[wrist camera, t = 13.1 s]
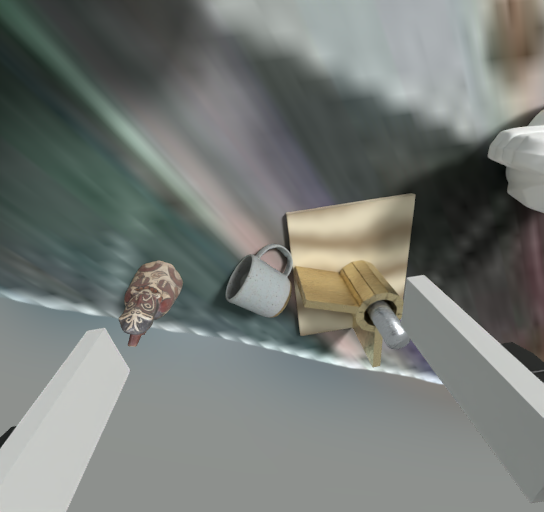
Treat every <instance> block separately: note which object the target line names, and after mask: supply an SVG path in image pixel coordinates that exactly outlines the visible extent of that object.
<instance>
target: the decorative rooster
mask: <svg viewBox="0 0 544 512" xmlns="http://www.w3.org/2000/svg"><path fill="white" fill-rule="evenodd" d="M488 158H489V159H491V160H493V161H495V162H498V163H500V164H502V165H505V166H507V167H506V178H507V181H508V188H507V193H508V194H509V195H511V196H512V197H513V198H515V199H516V200H518V201H519V202H520V203H522V204H523V205H525V206H526V207H528V208H530V209H533V210H536V211H539V212H542V213H544V109H543V110H542V111H541V112H540V113H538V114H537V115H536V116H535V117H534V119H533V120H532V121H531V122H530V124H529V125H528V126H527V127H518V128H512V129H509V130H504V131H501V132H500V133H499V134H498V135H497V136H496V138H495V139H494V141H493V142H492V143H491V144H490V147H489V151H488Z"/></svg>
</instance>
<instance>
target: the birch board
mask: <svg viewBox="0 0 544 512" xmlns="http://www.w3.org/2000/svg"><path fill="white" fill-rule="evenodd" d="M415 196H416V195H415V194H413V193H409V194H403V195H396V196H390V197H384V198H377V199H371V200H365V201H358V202H352V203H346V204H339V205H333V206H326V207H320V208H314V209H307V210H301V211H295V212H288V213H286V217H287V226H288V234H289V243H290V252H291V256H292V259H293V266H292V269H293V278H294V287H295V295H296V304H297V313H298V321H299V330H300V335H301V336H304V335H310V334H316V333H323V332H329V331H335V330H341V329H347V328H353V315H352V313H346V312H338V311H330V310H322V309H314V308H306V307H304V305H303V302H302V298H301V295H300V292H299V288H298V285H297V281H296V278H295V275H294V270H295V266H300V267H306V268H313V269H320V270H326V271H333V272H340V271H341V269H343V267H344V266H346V265H347V264H349V263H350V262H353V261H360V260H364V261H367V262H370V263H372V264H373V265H374V266H375V268H376V269H377V270H378V271H379V272H380V273H381V275H382V276H383V277H384V278H385V279H386V280H387V282H388V283H389V284H390V285H391V286H392V288H393V289H394V290H395V291H396V292H397V293H398V295H399V296H400V297H401V299H402V300H403V294H404V286H405V278H406V269H407V261H408V253H409V245H410V237H411V229H412V220H413V212H414V204H415Z"/></svg>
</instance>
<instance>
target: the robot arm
mask: <svg viewBox="0 0 544 512" xmlns="http://www.w3.org/2000/svg"><path fill="white" fill-rule="evenodd" d="M401 326H402V328H403V329H404V331H405V332H406V333H407V335H408V336H409V337H410V339H411V340H412V341H413V343H414V344H415V346H416V347H417V348H418V350H419V351H420V352H421V354H422V355H423V357H424V358H425V359H426V361H427V362H428V363H429V365H430V366H431V368H432V369H433V370H434V372H435V373H436V374H437V376H438V377H439V379H440V380H441V381H442V383H443V384H444V385H445V387H446V388H447V390H448V391H449V392H450V393H451V395H452V396H453V398H454V399H455V400H456V402H457V403H458V405H459V406H460V407H461V409H462V410H463V411H464V413H465V414H466V416H467V417H468V418H469V420H470V421H471V422H472V424H473V425H474V426H475V428H476V429H477V431H478V432H479V433H480V435H481V436H482V437H483V439H484V440H485V442H486V443H487V444H488V446H489V447H490V448H491V450H492V451H493V452H494V454H495V455H496V457H497V458H498V459H499V461H500V462H501V464H502V465H503V466H504V468H505V469H506V470H507V472H508V473H509V475H510V476H511V477H512V479H513V480H514V481H515V483H516V484H517V486H518V487H519V488H520V490H521V491H522V492H523V494H524V495H525V496H526V498H527V499H528V500H529V502H530V503H536V502H542V501H544V362H543V361H541V360H540V359H539V358H538V357H537V356H535V355H534V354H533V353H531V352H529V351H528V350H526V349H524V348H522V347H520V346H518V345H517V344H515V343H513V342H510V343H504V344H500V343H499V342H497V341H496V340H495V339H494V338H493V337H492V336H491V335H490V334H489V333H488V332H486V331H485V330H484V329H483V328H482V327H481V326H480V325H479V324H478V323H477V322H475V321H474V320H473V319H472V318H471V317H470V316H469V315H468V314H467V313H465V312H464V311H463V310H462V309H461V308H460V307H459V306H458V305H457V304H456V303H454V302H453V301H452V300H451V299H450V298H449V297H448V296H447V295H446V294H445V293H443V292H442V291H441V290H440V289H439V288H438V287H437V286H436V285H435V284H433V283H432V282H431V281H430V280H429V279H428V278H427V277H426V276H425V275H421V276H415V277H409V278H406V287H405V295H404V303H403V312H402V320H401ZM129 373H130V369H129V368H128V366H127V364H126V363H125V361H124V359H123V357H122V356H121V354H120V352H119V351H118V349H117V347H116V346H115V344H114V342H113V341H112V339H111V337H110V336H109V334H108V332H107V331H106V329H105V328H102V329H96V330H90V331H87V332H86V333H85V335H84V336H83V337H82V339H81V340H80V341H79V343H78V344H77V345H76V347H75V348H74V349H73V351H72V352H71V354H70V355H69V356H68V358H67V359H66V361H65V362H64V363H63V364H62V366H61V367H60V368H59V370H58V371H57V372H56V374H55V375H54V377H53V378H52V379H51V381H50V382H49V384H48V385H47V386H46V387H45V389H44V390H43V391H42V393H41V394H40V396H39V397H38V398H37V400H36V401H35V402H34V404H33V405H32V406H31V408H30V409H29V411H28V412H27V413H26V414H25V416H24V417H23V418H22V420H21V421H20V423H19V424H18V425H17V426H15V427H11V428H10V429H9V430H8V431H7V432H6V433H5V434H4V435H2V436H1V437H0V512H66V511H67V508H68V506H69V504H70V502H71V500H72V497H73V495H74V493H75V491H76V489H77V486H78V484H79V482H80V480H81V478H82V476H83V473H84V471H85V469H86V467H87V465H88V462H89V460H90V458H91V456H92V454H93V451H94V449H95V446H96V445H97V443H98V440H99V438H100V436H101V434H102V432H103V429H104V427H105V425H106V423H107V421H108V419H109V416H110V414H111V412H112V410H113V408H114V405H115V403H116V401H117V399H118V397H119V394H120V392H121V390H122V388H123V386H124V383H125V381H126V379H127V377H128V375H129Z"/></svg>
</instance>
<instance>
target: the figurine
mask: <svg viewBox="0 0 544 512" xmlns="http://www.w3.org/2000/svg"><path fill="white" fill-rule="evenodd" d="M182 285H183V282H182V279H181V277H180V274H179V273H178V272H177V271H176V270H175V268H174V266H173V265H171V264H169V263H165V262H163V261H156V262H151V263H146V264H144V265H142V266H141V267H140V268H139V269H138V271H137V273H136V274H135V276H134V278H133V280H132V282H131V284H130V286H129V288H128V290H127V291H126V293H125V298H124V302H125V306H126V308H125V310H124V312H123V314H122V315H121V316H120V317H119V322H120V324H121V328H122V330H123V331H124V332H125V333H127V334H130V338H129V342H128V346H133V347H135V346H137V344H138V342H139V340H140V337H141V335H144V334H145V333H146V331H147V330H148V329H149V328H150V327H151V325H152V323H153V320H156V319H158V318H160V317H162V316H163V315H164V314H166V313H167V312H168V311H169V310H170V308H171V306H172V305H173V303H174V301H175V300H176V298H177V297H178V295H179V294H180V291H181V288H182Z"/></svg>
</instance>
